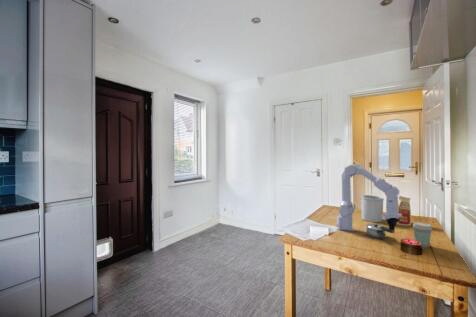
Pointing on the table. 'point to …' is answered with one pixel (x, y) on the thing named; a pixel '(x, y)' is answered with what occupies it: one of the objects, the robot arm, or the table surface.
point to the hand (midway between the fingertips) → (391, 230)
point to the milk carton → (404, 211)
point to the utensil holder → (372, 208)
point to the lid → (380, 228)
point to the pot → (376, 234)
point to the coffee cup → (422, 233)
